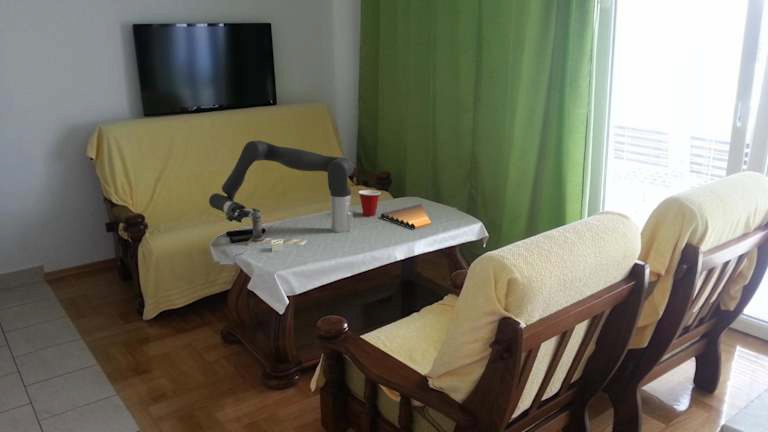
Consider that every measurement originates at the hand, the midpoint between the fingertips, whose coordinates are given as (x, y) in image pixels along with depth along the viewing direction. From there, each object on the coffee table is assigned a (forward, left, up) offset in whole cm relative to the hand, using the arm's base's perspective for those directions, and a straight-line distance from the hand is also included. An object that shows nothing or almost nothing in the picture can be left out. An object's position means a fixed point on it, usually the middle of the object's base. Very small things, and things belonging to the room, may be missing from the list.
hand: (250, 218), depth 265 cm
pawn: (-5, +5, -8) cm, 10 cm away
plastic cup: (-45, -43, -9) cm, 63 cm away
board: (-14, +5, -9) cm, 17 cm away
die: (-17, +15, -9) cm, 24 cm away
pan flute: (-68, -41, -10) cm, 80 cm away
